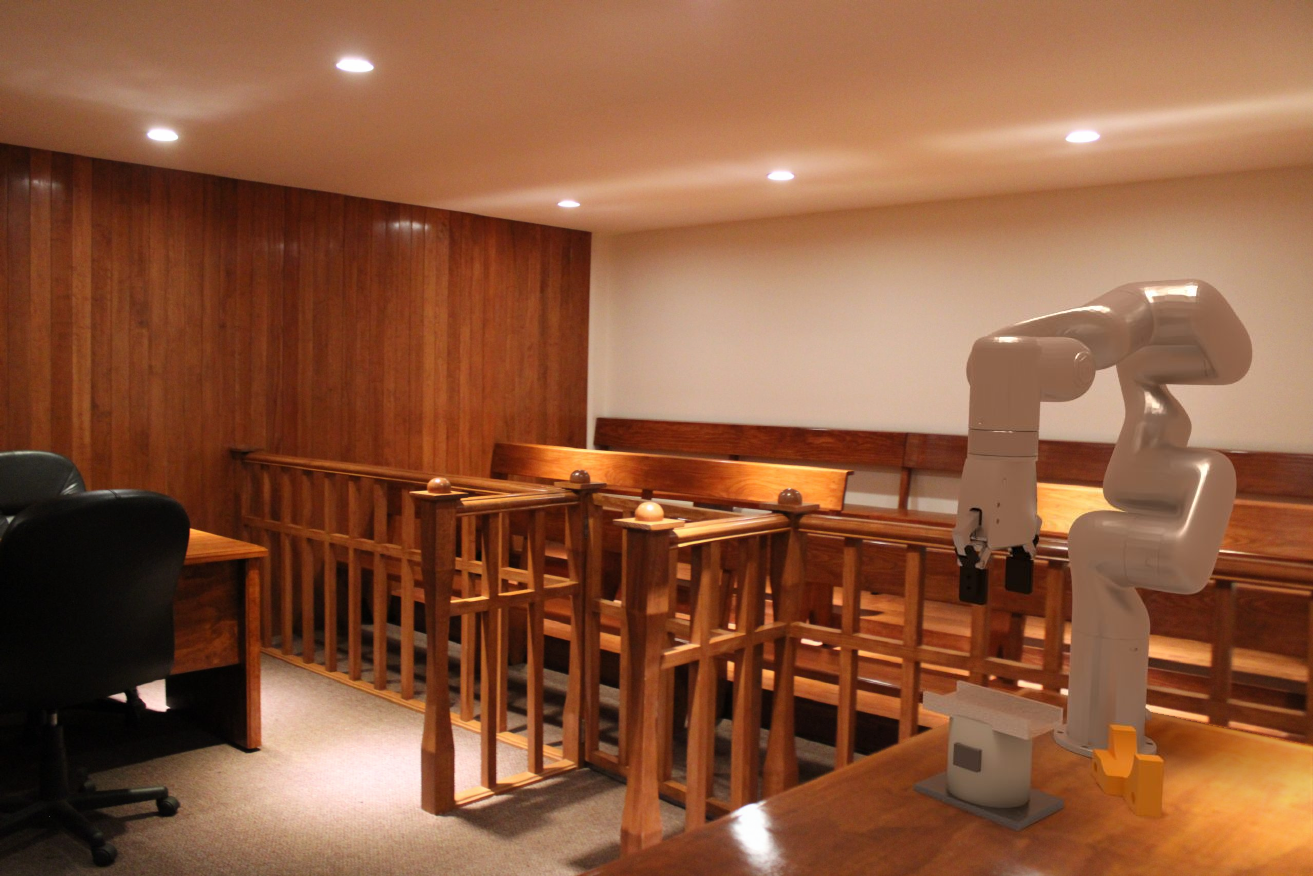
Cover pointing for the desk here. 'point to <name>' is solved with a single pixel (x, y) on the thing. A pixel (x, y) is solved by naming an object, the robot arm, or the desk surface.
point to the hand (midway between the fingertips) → (996, 597)
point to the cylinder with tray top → (992, 754)
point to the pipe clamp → (1130, 772)
